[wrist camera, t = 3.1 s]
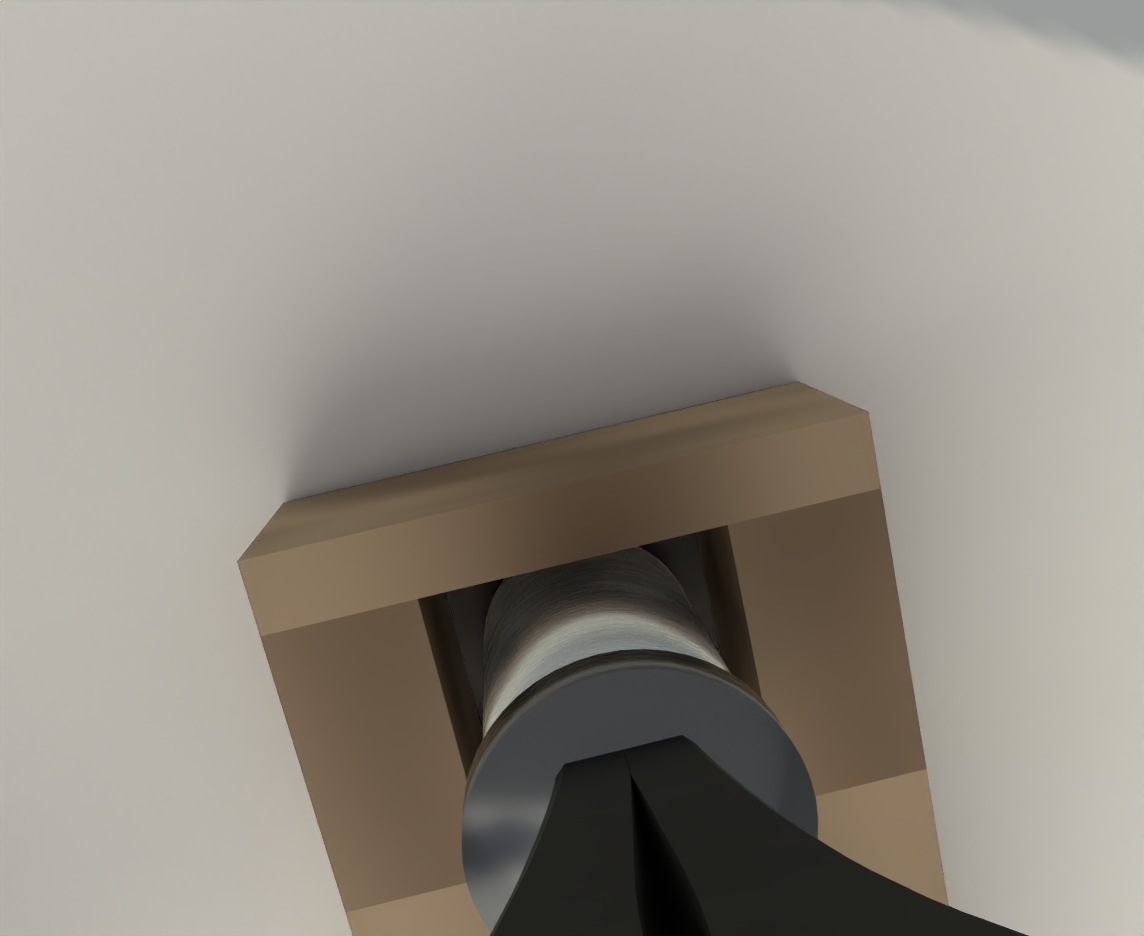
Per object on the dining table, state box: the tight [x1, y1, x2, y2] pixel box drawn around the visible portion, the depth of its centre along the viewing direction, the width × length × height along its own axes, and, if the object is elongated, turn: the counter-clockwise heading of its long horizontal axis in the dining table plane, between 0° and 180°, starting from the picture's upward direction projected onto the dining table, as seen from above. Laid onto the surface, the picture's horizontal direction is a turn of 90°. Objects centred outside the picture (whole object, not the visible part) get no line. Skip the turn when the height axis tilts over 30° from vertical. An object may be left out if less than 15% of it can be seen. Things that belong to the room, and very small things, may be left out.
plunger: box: [461, 546, 818, 932], centre depth 13 cm, size 4×4×6 cm
